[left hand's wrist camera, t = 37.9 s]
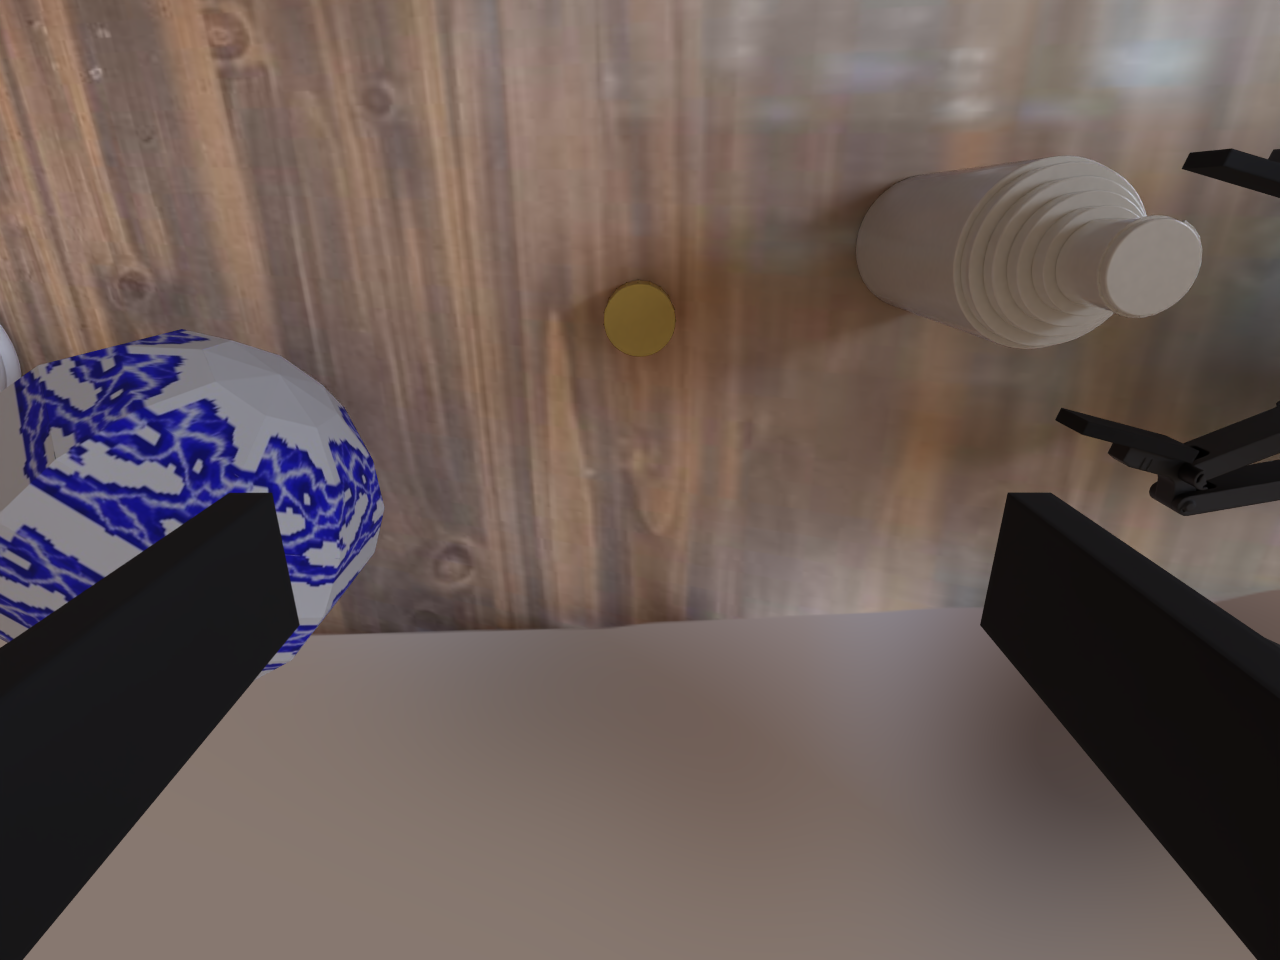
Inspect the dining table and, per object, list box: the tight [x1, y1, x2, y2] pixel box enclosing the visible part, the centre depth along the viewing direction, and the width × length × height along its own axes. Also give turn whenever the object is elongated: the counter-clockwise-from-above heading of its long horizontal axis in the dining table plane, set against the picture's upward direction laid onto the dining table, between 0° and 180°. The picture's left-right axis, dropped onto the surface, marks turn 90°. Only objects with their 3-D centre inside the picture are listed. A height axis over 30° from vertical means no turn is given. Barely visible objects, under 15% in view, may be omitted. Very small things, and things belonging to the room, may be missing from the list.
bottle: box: [856, 156, 1203, 349], centre depth 32 cm, size 8×8×20 cm
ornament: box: [0, 329, 384, 680], centre depth 38 cm, size 20×20×20 cm
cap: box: [604, 280, 676, 357], centre depth 42 cm, size 4×4×2 cm
